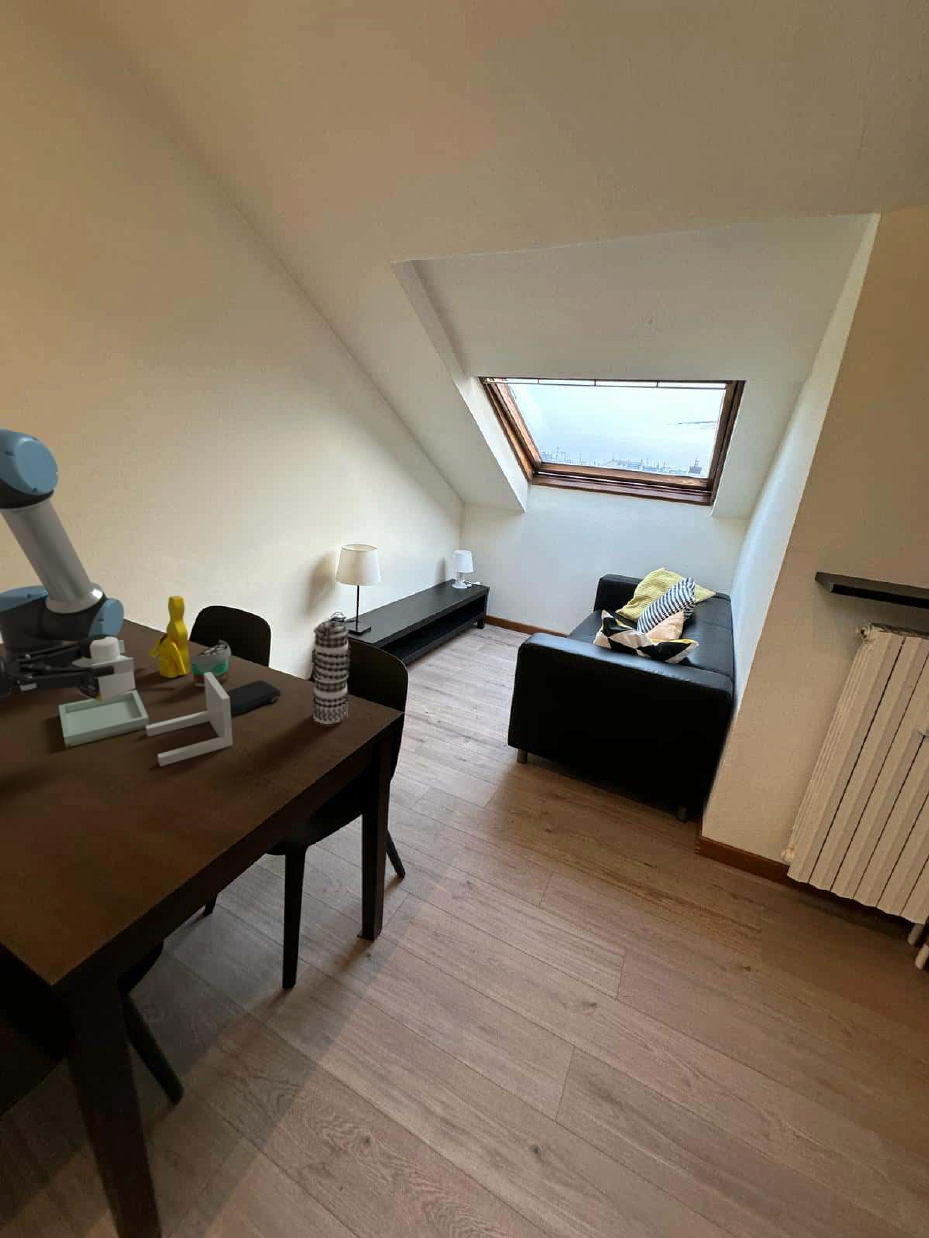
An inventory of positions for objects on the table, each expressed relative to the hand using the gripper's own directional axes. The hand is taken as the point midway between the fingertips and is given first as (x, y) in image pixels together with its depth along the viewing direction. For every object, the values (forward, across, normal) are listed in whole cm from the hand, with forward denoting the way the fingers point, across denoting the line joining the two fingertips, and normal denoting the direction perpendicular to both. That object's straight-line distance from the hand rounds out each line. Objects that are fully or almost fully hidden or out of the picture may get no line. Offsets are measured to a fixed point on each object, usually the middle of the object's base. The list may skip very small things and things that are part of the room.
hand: (128, 654), depth 101 cm
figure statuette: (+13, -28, -20) cm, 38 cm away
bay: (+9, +6, -20) cm, 23 cm away
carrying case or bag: (+25, -3, -21) cm, 32 cm away
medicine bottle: (-4, 0, -7) cm, 9 cm away
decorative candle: (+39, +14, -20) cm, 46 cm away
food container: (+21, -17, -20) cm, 34 cm away
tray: (-5, -11, -20) cm, 23 cm away
